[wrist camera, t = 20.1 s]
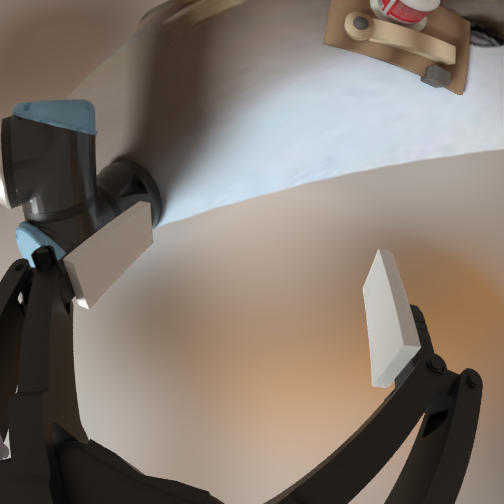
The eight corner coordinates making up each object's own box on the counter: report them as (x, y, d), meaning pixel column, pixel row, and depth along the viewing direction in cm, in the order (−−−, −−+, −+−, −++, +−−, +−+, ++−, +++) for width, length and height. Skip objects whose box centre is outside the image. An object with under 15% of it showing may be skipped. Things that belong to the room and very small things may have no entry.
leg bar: (343, 39, 24) (345, 31, 21) (344, 16, 22) (345, 7, 19) (446, 69, 21) (457, 66, 18) (446, 46, 19) (457, 42, 17)
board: (322, 48, 27) (322, 40, 23) (335, -27, 19) (335, -41, 15) (457, 99, 24) (472, 99, 20) (466, 24, 17) (479, 18, 13)
